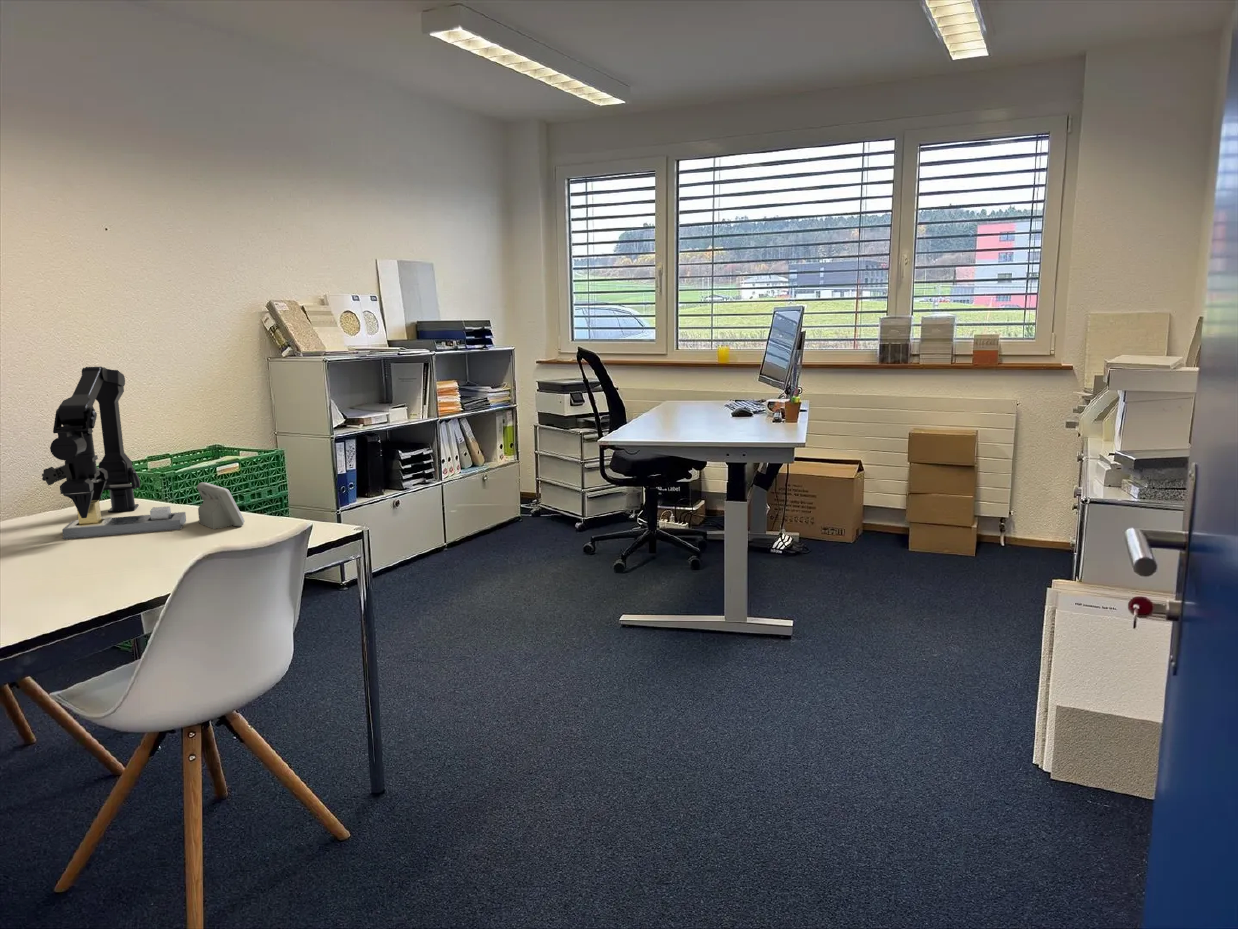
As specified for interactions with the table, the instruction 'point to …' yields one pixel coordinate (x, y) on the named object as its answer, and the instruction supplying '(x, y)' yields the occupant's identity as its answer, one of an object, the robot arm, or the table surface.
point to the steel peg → (160, 513)
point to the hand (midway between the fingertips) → (89, 513)
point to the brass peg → (91, 514)
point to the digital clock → (218, 507)
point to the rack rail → (123, 526)
